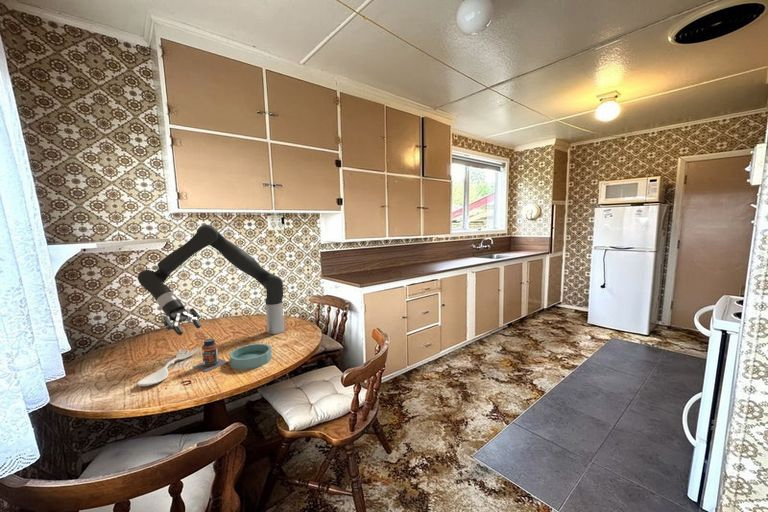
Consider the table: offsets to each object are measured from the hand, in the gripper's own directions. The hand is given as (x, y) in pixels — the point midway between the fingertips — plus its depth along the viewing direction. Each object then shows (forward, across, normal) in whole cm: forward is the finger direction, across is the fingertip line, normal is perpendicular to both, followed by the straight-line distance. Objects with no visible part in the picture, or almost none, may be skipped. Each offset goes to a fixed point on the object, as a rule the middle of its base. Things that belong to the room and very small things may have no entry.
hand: (190, 330), depth 132 cm
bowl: (+28, +9, -8) cm, 30 cm away
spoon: (+8, -8, +13) cm, 18 cm away
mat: (+18, 0, +3) cm, 18 cm away
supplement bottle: (+18, 0, +3) cm, 18 cm away
